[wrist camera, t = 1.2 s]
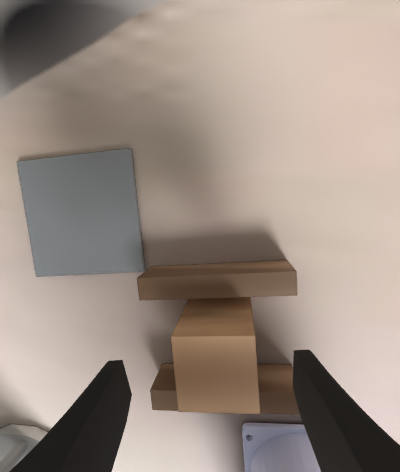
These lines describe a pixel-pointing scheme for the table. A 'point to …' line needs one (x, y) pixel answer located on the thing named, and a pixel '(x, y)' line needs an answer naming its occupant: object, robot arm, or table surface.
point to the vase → (17, 444)
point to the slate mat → (82, 213)
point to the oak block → (216, 357)
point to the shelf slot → (224, 286)
